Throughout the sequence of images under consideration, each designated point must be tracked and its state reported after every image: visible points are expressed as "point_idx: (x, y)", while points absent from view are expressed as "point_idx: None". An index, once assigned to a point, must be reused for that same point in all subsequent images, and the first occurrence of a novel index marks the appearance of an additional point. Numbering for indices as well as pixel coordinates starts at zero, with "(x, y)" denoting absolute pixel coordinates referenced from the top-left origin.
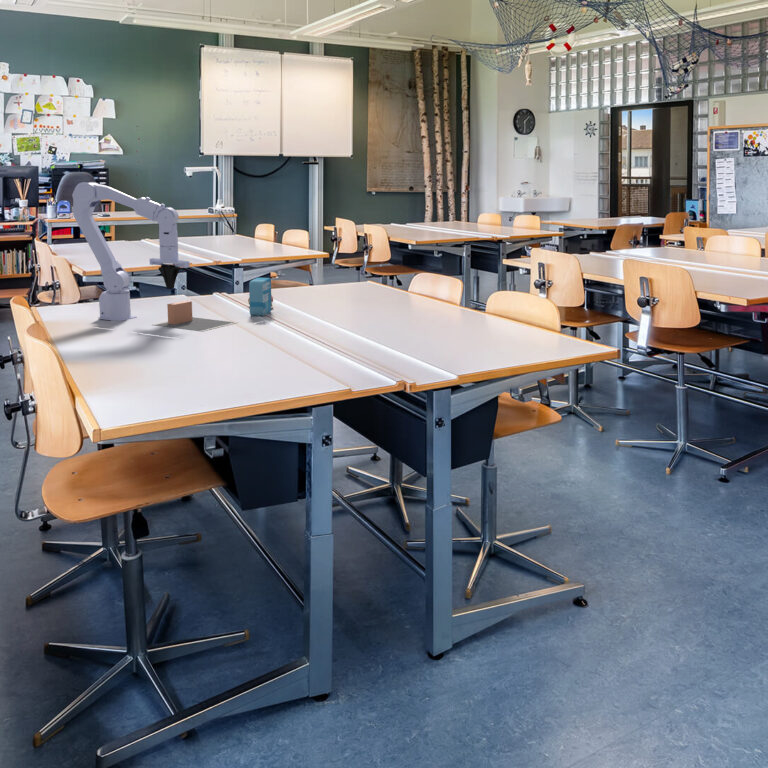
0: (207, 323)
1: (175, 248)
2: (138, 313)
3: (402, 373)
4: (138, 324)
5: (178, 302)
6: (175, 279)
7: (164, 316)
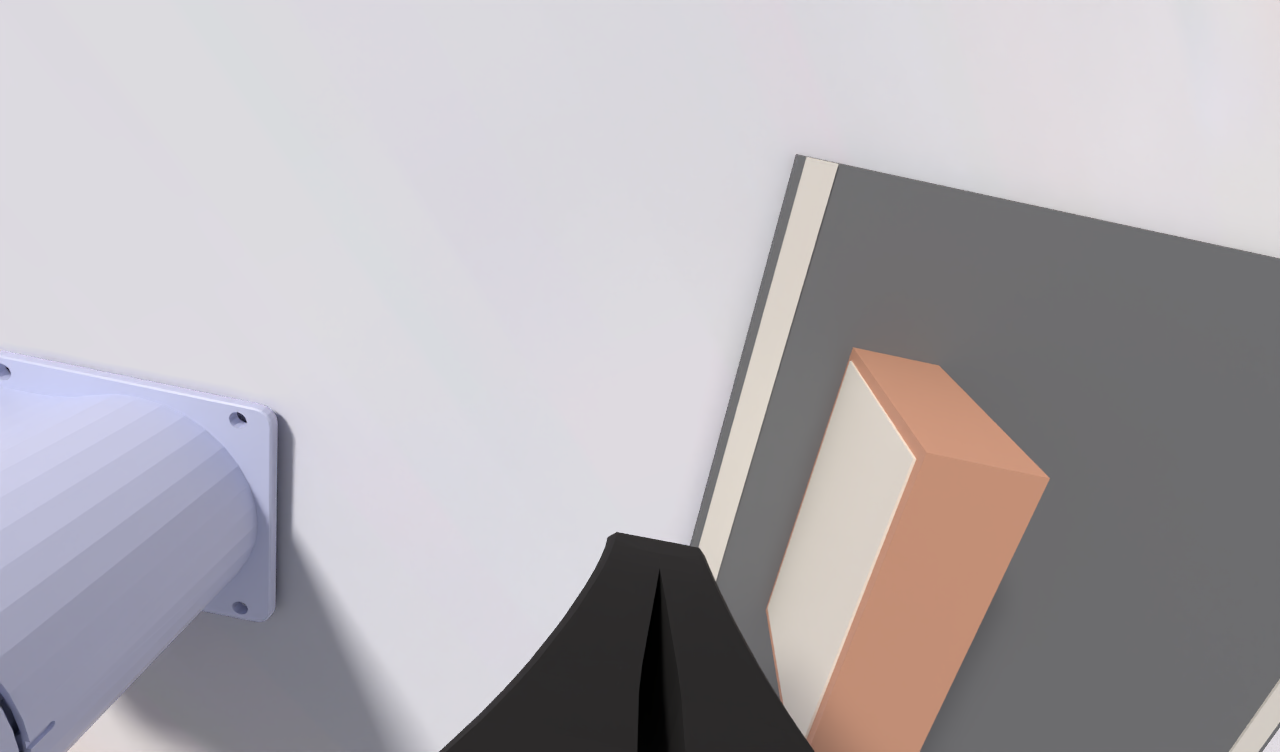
0: (1173, 483)
1: None
2: (32, 80)
3: None
4: (494, 650)
5: (879, 634)
6: (766, 696)
7: (452, 160)
